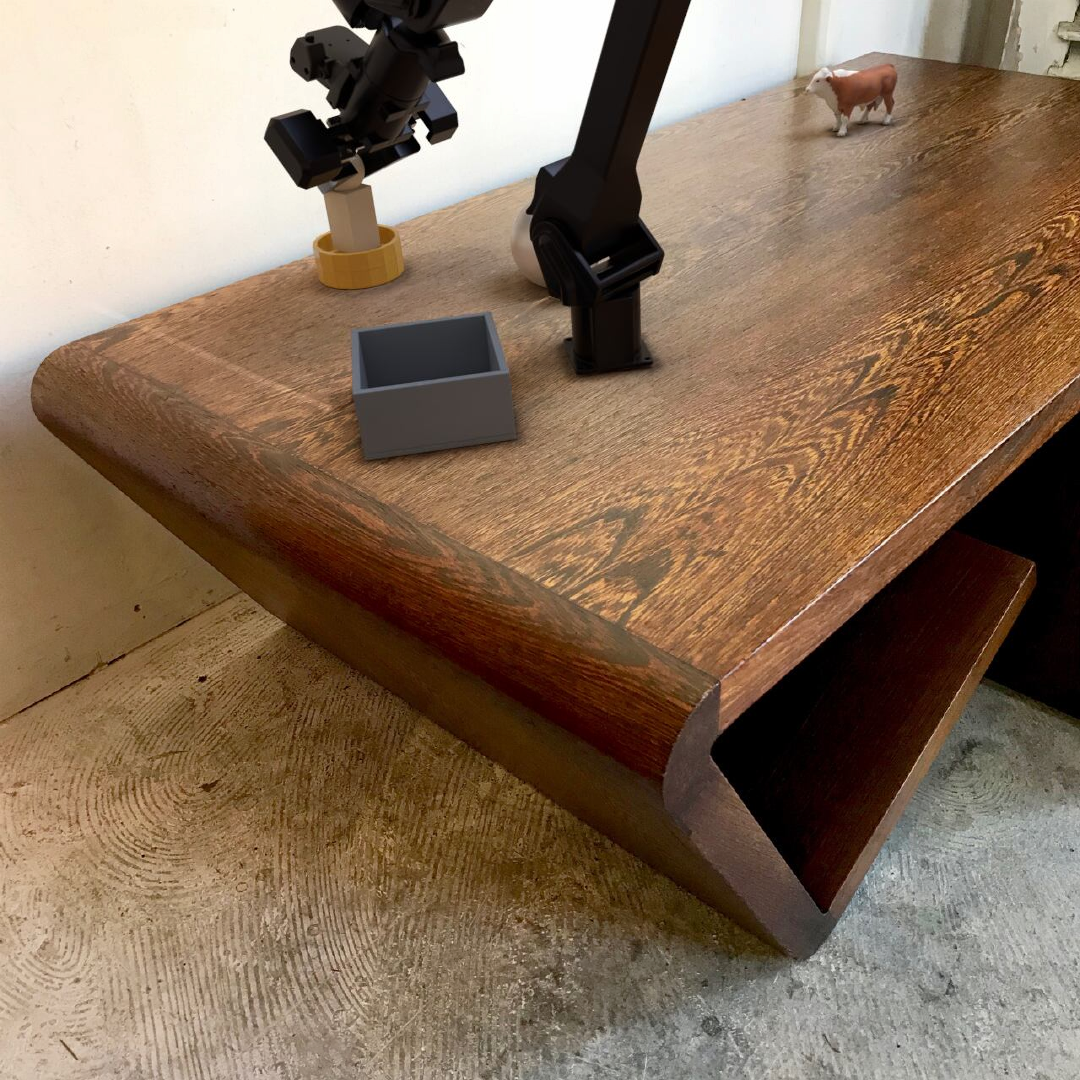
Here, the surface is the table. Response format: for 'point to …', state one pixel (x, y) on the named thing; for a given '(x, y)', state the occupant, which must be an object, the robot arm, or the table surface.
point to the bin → (431, 385)
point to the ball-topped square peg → (352, 214)
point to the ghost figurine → (526, 248)
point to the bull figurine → (855, 92)
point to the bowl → (359, 262)
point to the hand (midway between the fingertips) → (337, 183)
